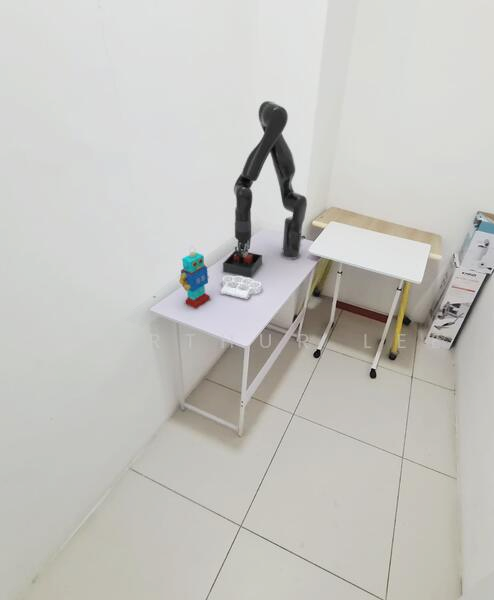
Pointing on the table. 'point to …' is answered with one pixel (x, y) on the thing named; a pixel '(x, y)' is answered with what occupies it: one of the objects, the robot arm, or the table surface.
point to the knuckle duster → (240, 286)
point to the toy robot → (194, 279)
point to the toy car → (247, 258)
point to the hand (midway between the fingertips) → (243, 260)
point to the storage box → (242, 265)
